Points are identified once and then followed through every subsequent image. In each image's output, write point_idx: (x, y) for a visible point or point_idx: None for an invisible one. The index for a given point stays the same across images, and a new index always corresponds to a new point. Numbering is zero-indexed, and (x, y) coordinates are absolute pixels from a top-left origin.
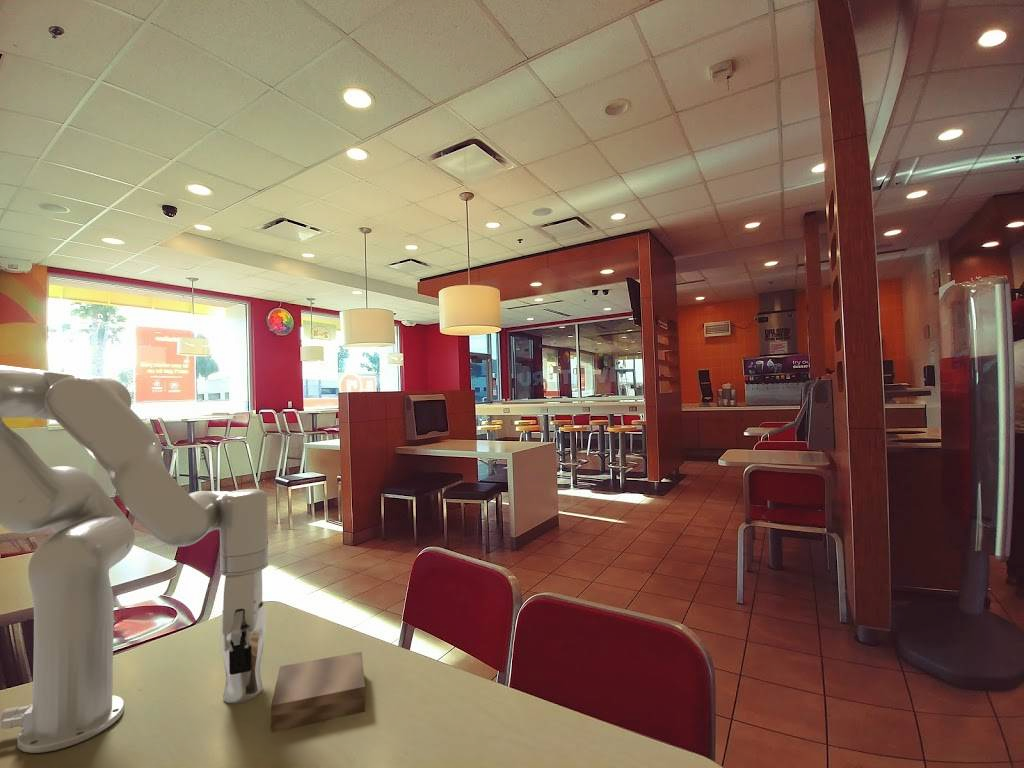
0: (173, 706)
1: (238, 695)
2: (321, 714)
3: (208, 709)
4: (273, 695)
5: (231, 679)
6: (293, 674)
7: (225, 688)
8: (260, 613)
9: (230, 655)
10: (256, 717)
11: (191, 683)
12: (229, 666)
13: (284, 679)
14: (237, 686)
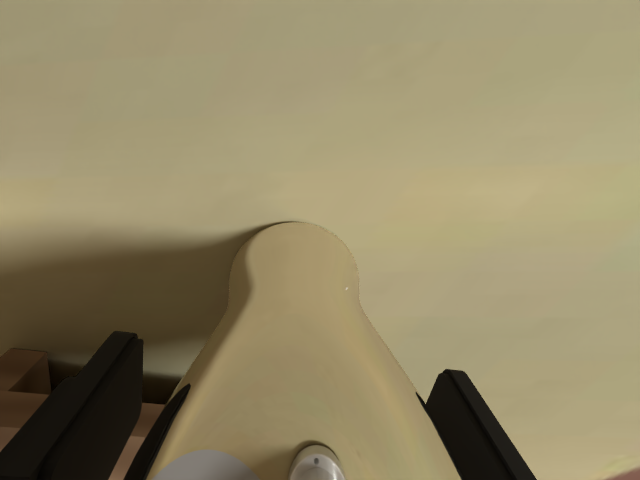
0: (351, 33)
1: (230, 280)
2: None
3: (246, 173)
4: (8, 427)
5: (239, 290)
6: None
7: (278, 245)
8: None
9: (34, 436)
10: (115, 314)
11: (506, 101)
12: (90, 361)
13: (128, 455)
14: (230, 295)
